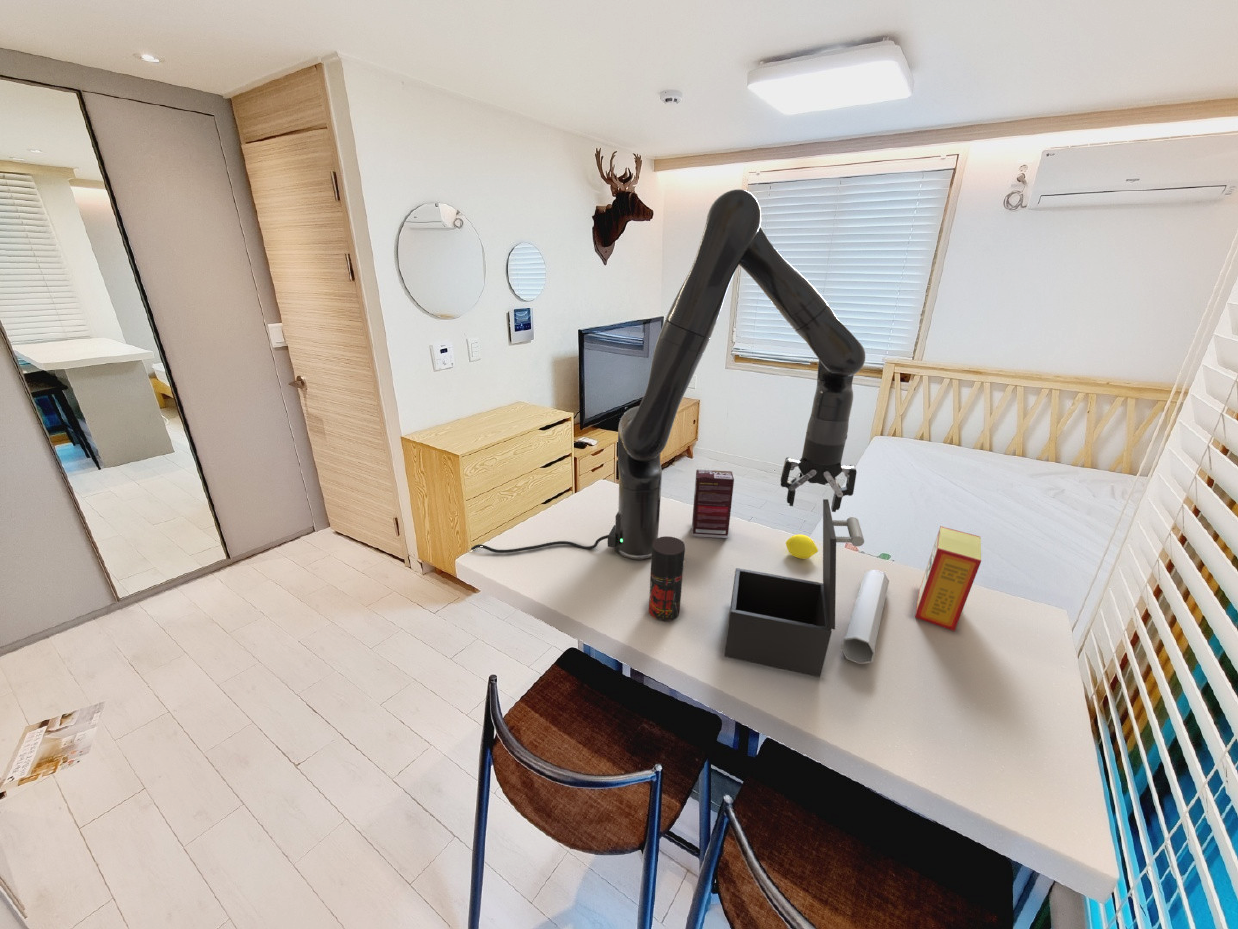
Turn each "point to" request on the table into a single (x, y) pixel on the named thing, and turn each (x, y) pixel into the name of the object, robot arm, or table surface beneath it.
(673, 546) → the deodorant
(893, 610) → the table surface
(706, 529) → the supplement box
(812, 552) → the lemon
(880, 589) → the tube
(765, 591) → the dark grey box
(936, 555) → the baking soda box
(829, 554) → the lid
